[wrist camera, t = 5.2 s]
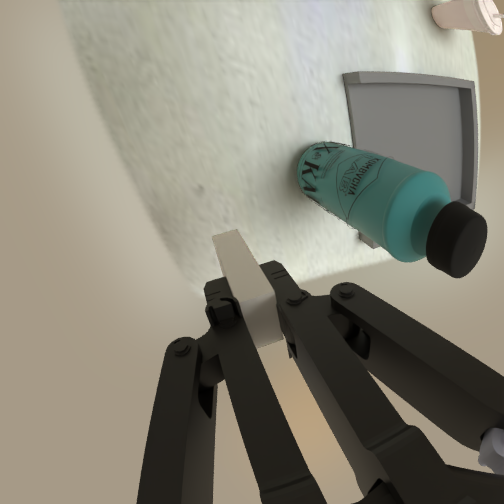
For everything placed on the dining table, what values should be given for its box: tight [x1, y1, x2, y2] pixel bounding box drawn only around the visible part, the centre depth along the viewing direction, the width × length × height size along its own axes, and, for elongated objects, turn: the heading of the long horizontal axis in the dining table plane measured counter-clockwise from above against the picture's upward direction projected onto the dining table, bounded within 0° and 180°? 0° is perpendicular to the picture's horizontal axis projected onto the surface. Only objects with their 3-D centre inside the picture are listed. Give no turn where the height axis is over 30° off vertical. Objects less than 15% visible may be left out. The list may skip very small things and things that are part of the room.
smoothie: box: [431, 0, 504, 35], centre depth 17 cm, size 6×6×14 cm
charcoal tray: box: [343, 72, 478, 249], centre depth 31 cm, size 20×22×3 cm
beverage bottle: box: [297, 141, 487, 278], centre depth 21 cm, size 6×7×20 cm
